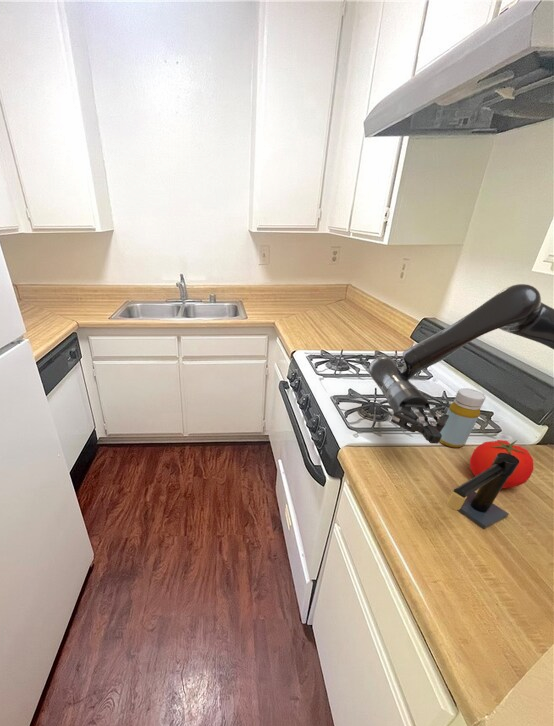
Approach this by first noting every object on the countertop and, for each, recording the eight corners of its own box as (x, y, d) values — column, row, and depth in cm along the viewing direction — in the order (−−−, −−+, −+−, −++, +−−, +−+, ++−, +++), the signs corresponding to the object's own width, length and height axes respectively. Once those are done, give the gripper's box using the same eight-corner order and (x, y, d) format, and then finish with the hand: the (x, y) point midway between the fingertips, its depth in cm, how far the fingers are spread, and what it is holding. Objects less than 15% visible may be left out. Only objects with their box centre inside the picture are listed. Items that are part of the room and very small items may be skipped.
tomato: (513, 472, 86) (534, 438, 80) (526, 502, 77) (551, 466, 71) (459, 460, 90) (475, 426, 84) (466, 487, 81) (485, 452, 75)
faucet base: (470, 493, 79) (492, 455, 73) (507, 517, 73) (533, 477, 67) (448, 503, 76) (468, 464, 70) (483, 529, 70) (509, 489, 64)
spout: (491, 469, 72) (502, 450, 69) (510, 479, 69) (523, 460, 66) (440, 501, 63) (451, 481, 61) (460, 514, 61) (471, 493, 58)
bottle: (456, 451, 93) (480, 402, 84) (431, 439, 97) (451, 391, 89) (468, 443, 96) (492, 395, 88) (443, 431, 101) (464, 385, 92)
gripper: (383, 386, 85) (409, 423, 70) (438, 388, 84) (476, 426, 70) (375, 412, 89) (398, 452, 75) (427, 415, 88) (461, 456, 74)
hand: (436, 440), depth 72 cm, fingers closed
